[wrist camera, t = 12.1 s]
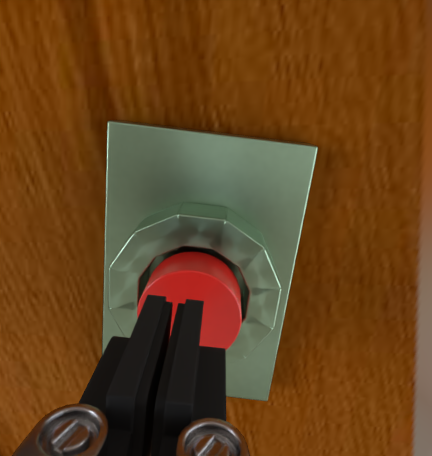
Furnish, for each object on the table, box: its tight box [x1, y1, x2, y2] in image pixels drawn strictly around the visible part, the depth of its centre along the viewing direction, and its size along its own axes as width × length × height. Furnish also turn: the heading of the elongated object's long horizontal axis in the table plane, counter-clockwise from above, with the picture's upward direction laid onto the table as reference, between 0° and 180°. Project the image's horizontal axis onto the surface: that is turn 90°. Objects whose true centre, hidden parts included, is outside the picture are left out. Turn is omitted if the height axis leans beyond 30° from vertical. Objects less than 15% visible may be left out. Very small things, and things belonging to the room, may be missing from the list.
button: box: [137, 252, 242, 350], centre depth 13 cm, size 4×4×2 cm
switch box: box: [102, 120, 318, 401], centre depth 15 cm, size 12×8×3 cm, turn 173°
